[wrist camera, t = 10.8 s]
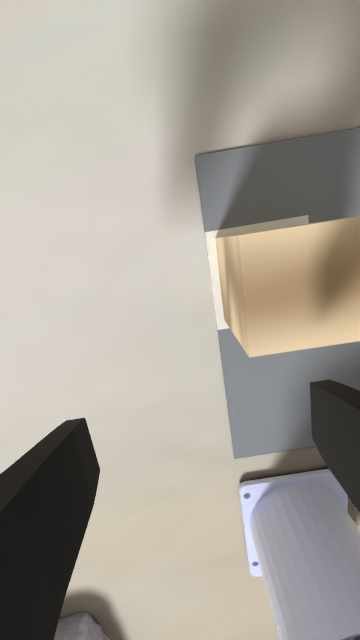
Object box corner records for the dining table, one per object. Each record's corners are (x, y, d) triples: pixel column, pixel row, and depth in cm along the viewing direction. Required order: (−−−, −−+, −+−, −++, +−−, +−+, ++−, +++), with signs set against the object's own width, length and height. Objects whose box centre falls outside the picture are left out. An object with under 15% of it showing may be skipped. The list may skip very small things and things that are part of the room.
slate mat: (467, 422, 20) (469, 423, 20) (234, 457, 21) (234, 459, 20) (509, 102, 15) (512, 100, 15) (194, 156, 15) (195, 155, 15)
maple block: (303, 308, 18) (367, 339, 12) (224, 319, 18) (249, 357, 12) (300, 224, 16) (371, 214, 10) (215, 238, 16) (238, 235, 11)
